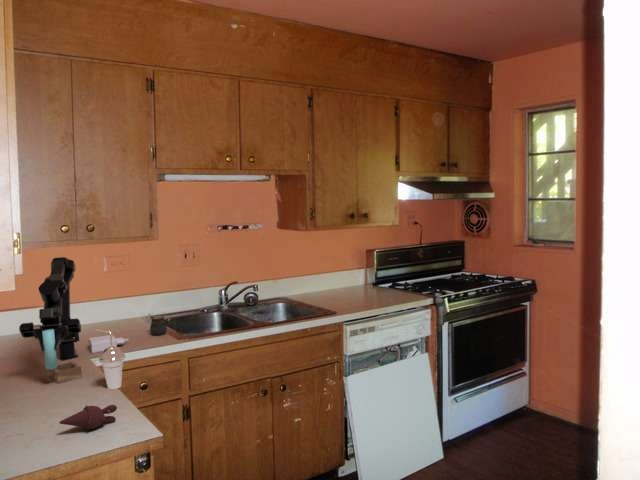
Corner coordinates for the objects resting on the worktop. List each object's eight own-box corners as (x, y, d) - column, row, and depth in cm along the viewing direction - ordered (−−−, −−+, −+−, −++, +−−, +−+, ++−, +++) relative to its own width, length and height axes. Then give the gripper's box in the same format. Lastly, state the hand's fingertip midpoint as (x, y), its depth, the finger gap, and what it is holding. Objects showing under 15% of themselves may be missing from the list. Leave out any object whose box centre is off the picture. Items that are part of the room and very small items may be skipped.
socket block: (50, 378, 198) (49, 367, 197) (73, 372, 203) (72, 361, 203) (58, 383, 192) (57, 372, 191) (81, 377, 197) (80, 366, 197)
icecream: (61, 419, 148) (120, 410, 156) (58, 403, 154) (114, 395, 162) (60, 441, 150) (118, 431, 158) (57, 425, 156) (112, 416, 164)
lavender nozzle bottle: (130, 347, 231) (92, 354, 224) (126, 342, 239) (89, 348, 232) (130, 336, 231) (91, 342, 224) (125, 331, 239) (88, 337, 232)
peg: (44, 367, 190) (40, 330, 188) (55, 364, 192) (52, 328, 190) (47, 370, 187) (44, 332, 185) (58, 367, 189) (55, 330, 188)
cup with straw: (110, 393, 182) (105, 333, 179) (94, 387, 187) (90, 329, 185) (132, 385, 188) (128, 327, 186) (117, 379, 194) (113, 324, 192)
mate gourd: (167, 335, 247) (165, 313, 245) (149, 337, 245) (147, 315, 243) (167, 331, 254) (165, 310, 252) (150, 333, 252) (148, 311, 250)
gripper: (17, 300, 188) (12, 341, 179) (77, 295, 193) (74, 335, 184) (25, 317, 196) (20, 357, 187) (82, 312, 201) (80, 351, 192)
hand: (49, 350), depth 187 cm, fingers closed on peg, 4 cm apart
